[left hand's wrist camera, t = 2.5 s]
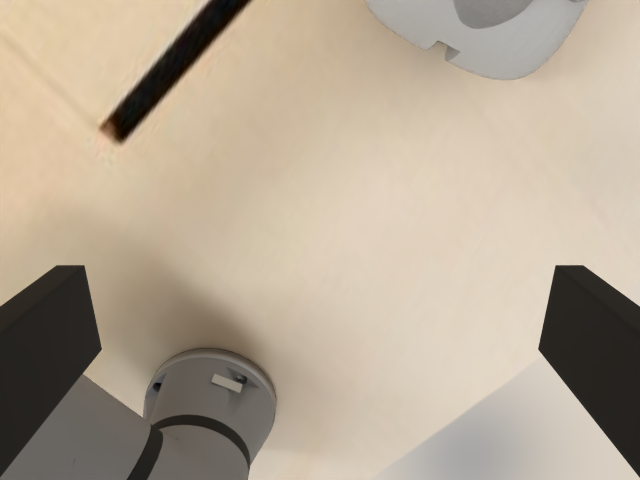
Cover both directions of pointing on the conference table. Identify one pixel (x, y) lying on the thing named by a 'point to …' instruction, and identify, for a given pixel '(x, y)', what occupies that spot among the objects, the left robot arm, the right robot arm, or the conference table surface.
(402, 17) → the projector
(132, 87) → the conference table surface
